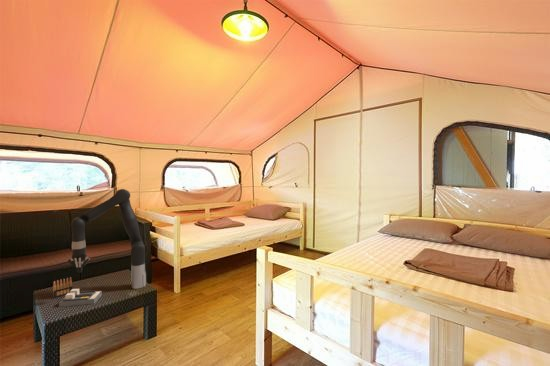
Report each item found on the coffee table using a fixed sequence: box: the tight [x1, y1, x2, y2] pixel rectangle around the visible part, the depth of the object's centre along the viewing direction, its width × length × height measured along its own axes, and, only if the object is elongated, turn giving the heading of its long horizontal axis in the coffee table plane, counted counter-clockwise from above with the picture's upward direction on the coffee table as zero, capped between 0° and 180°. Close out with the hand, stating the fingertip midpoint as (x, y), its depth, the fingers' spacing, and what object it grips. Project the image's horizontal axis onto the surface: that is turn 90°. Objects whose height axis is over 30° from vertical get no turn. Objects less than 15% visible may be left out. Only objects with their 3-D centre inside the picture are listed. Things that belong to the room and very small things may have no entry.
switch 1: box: [64, 293, 75, 300], centre depth 169 cm, size 4×3×3 cm
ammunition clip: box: [52, 276, 73, 299], centre depth 180 cm, size 11×2×12 cm, turn 138°
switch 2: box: [70, 288, 80, 295], centre depth 175 cm, size 4×3×3 cm
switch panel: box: [58, 289, 103, 308], centre depth 174 cm, size 20×12×4 cm, turn 103°
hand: (79, 272), depth 175 cm, fingers closed
